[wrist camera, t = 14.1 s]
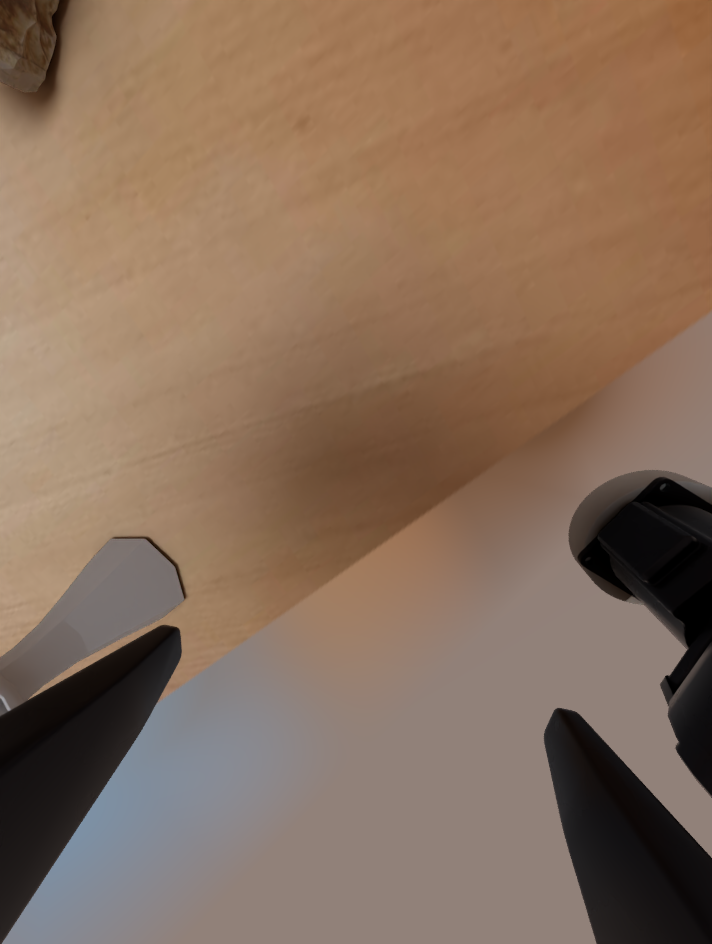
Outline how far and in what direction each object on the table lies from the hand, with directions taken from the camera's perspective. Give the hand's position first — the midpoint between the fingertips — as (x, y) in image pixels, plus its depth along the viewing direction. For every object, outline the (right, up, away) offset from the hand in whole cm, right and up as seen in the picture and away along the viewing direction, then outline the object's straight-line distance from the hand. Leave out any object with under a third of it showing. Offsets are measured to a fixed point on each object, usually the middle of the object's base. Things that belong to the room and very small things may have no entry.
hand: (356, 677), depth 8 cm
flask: (-16, -3, +18) cm, 24 cm away
